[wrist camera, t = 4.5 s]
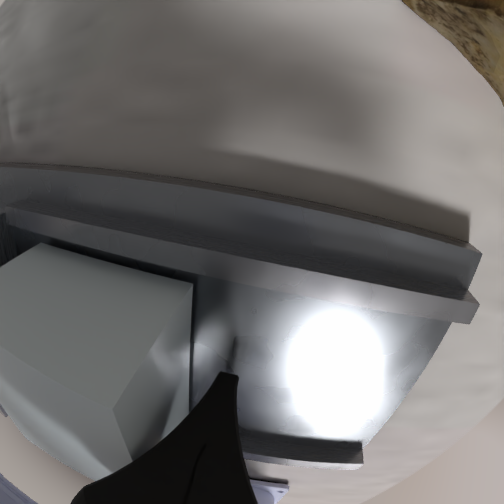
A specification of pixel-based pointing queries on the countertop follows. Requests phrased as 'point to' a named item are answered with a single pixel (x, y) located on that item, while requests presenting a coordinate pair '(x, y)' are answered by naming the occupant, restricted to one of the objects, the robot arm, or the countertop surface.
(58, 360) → the pale blue-grey box
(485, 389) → the countertop surface
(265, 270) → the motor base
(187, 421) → the robot arm
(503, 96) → the rock
